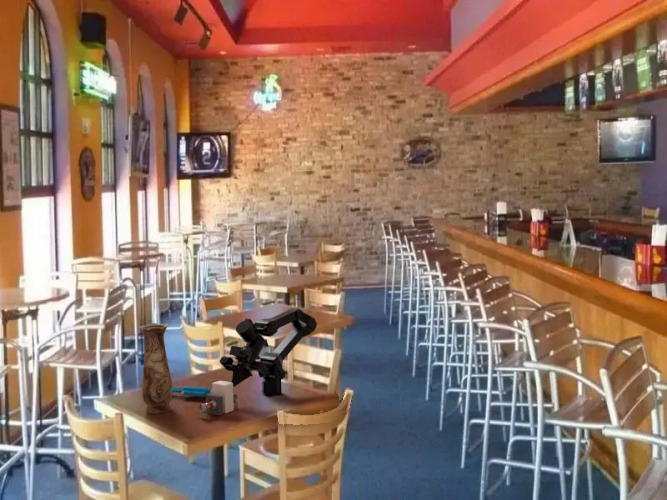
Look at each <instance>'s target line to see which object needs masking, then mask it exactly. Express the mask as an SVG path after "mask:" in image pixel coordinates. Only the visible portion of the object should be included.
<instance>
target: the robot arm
mask: <svg viewBox="0 0 667 500" xmlns="http://www.w3.org/2000/svg"><path fill="white" fill-rule="evenodd" d="M290 323H291V324H292V329H291V330H290V332H289V333H288V334H287V335H286V336H285V337H284V339H283V340H282V341H281V342H280V343H279V344H278V346H277V347H276V348H274V350H273V351H272V352H269V351H265V352H264V353H263V355H262V356H260V353H261V352H262V350H263V348H264V347H265V348H268V347H269V343H268V339H266V338H265V337H273V336H274V335H275V334H277V333H278V331H279V329H280V328H282V327H284V326H287V325H288V324H290ZM317 326H318V324H317V321H316V318H315V317H313V316H311V315H309V314H308V313H306V312H304V311H303V310H302V309H300V308H293V307H292V308H288V309H287V310H285V311H283V312H282V313H279V314H277V315H275V316H273V317H269V318H262V319H257V320H256V321H255V322H253V320H252V319H251V318H247V317H246V318H245V319H244V320H243V321H241V322H239V323H238V324H236V327H235V331H236V333H237V334H238V336H240V338H241V339H242V340H243V341H244V342H245V343H246V345H243V346H237V345H231V346H230V350H229V353H228V354H229V355H230V356H227V355H226V356H221V358H220V359H219V361H218V362H219V363H220V365H222V367H223V368H224V369H225V370H226V371H227V372H232V376H231V381H230V382H231V383H233V388H234V387H237V386H238V385H239V384H241V383H242V382H243V381H245V380H246V379H247V380H248V379H249V378H250V377H253V372H255V371H257V375H258V376H259V378H262V381H261V393H262V394H263V395H264V396H265V397H273V396H282V395H284V393H283V392H282V389H283V388H282V380H283V379H285V378H286V374H287V373H286V370H285V369H284V368H283V367H284V365H283V363H284V362H283V361H284V360H285V359H286V358H287V356H288V355H289V354H290V353H291V352H292V351H293V349H294V348H295V347H296V346H297V344H299V342H300V341H301V340H302V338H304V337H307V336H310V335H311V334H312V333H313V332H315V331H316V328H317ZM231 356H234V359H235V360H234V359H233V357H231Z"/></svg>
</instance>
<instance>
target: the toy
mask: <svg viewBox="0 0 667 500" xmlns="http://www.w3.org/2000/svg"><path fill="white" fill-rule="evenodd" d="M172 393H177V394H182V395H183V396H187V397H188V396H190V397H198V398H199V397H200V398H206V394H212V387H202V386H193V385H192V386H191V385H185V386H183V387H174V386H172Z"/></svg>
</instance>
